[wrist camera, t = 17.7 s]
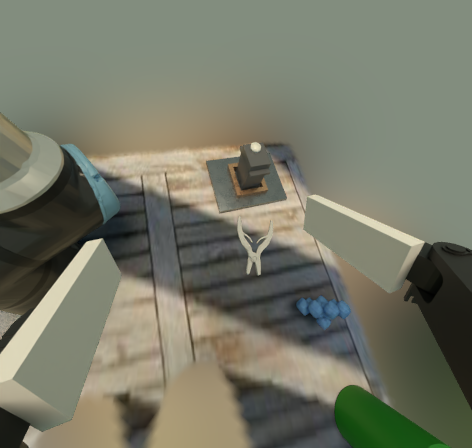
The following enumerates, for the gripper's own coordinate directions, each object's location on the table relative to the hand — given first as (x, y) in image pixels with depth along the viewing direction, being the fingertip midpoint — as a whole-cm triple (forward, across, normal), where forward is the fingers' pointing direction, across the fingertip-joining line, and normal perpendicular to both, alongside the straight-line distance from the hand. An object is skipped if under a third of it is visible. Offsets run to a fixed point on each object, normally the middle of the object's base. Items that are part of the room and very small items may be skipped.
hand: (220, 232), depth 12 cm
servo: (+38, +16, -8) cm, 42 cm away
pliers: (+26, +13, -22) cm, 37 cm away
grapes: (+13, +21, -35) cm, 43 cm away
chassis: (+39, +16, -8) cm, 43 cm away
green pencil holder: (-2, +23, -50) cm, 55 cm away
